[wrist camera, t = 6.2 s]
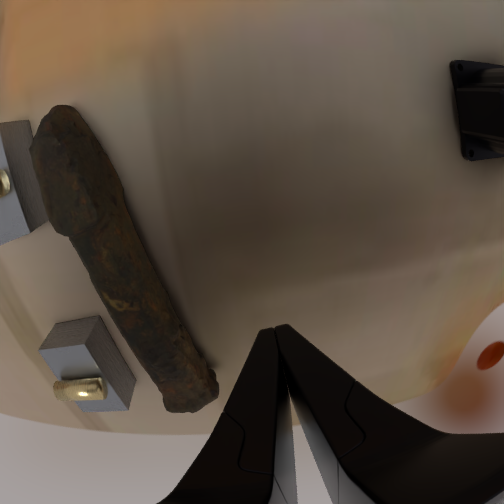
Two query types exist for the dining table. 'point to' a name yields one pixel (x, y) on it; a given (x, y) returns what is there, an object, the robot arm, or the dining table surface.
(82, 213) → the hand tool
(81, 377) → the end link
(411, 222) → the dining table surface
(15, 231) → the end link
